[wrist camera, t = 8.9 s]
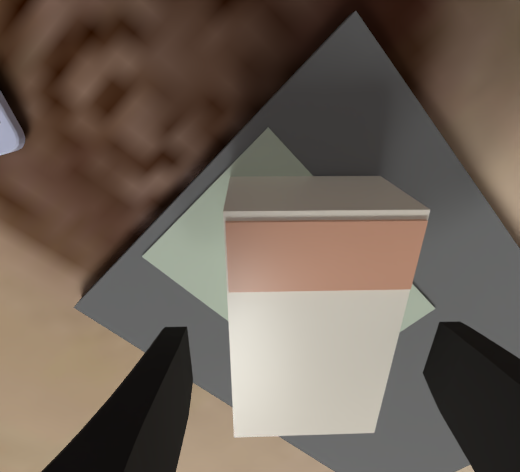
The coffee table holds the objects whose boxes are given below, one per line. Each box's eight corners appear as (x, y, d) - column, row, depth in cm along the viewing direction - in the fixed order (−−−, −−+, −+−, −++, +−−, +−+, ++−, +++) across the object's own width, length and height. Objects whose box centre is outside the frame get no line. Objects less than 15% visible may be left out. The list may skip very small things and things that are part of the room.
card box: (348, 362, 14) (375, 435, 11) (237, 365, 14) (234, 440, 11) (380, 176, 11) (432, 210, 8) (230, 176, 10) (222, 212, 7)
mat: (81, 298, 13) (72, 309, 12) (349, 15, 9) (357, 9, 8) (383, 493, 20) (388, 506, 20) (606, 381, 16) (620, 393, 16)
